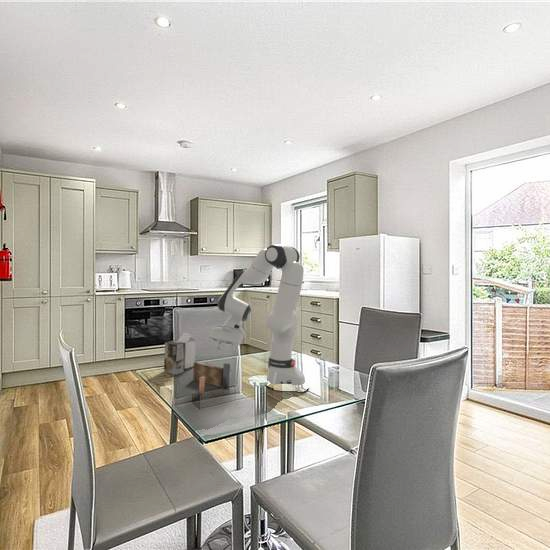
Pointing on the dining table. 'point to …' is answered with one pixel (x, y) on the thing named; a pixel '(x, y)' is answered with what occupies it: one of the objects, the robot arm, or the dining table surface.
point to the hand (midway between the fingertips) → (218, 348)
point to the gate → (208, 373)
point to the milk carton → (188, 350)
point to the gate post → (226, 376)
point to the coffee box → (174, 357)
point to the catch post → (202, 385)
